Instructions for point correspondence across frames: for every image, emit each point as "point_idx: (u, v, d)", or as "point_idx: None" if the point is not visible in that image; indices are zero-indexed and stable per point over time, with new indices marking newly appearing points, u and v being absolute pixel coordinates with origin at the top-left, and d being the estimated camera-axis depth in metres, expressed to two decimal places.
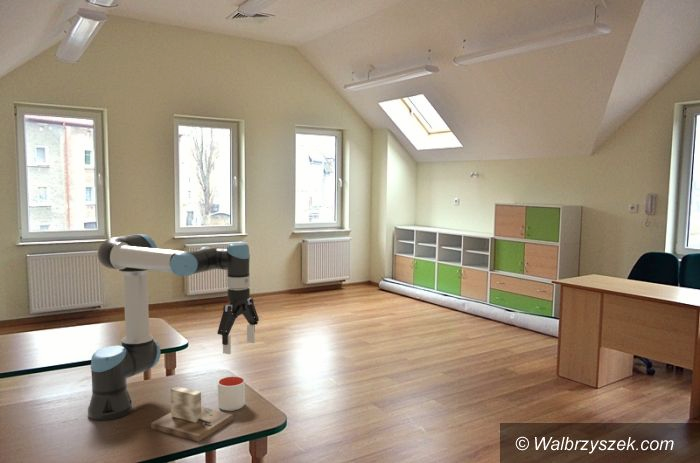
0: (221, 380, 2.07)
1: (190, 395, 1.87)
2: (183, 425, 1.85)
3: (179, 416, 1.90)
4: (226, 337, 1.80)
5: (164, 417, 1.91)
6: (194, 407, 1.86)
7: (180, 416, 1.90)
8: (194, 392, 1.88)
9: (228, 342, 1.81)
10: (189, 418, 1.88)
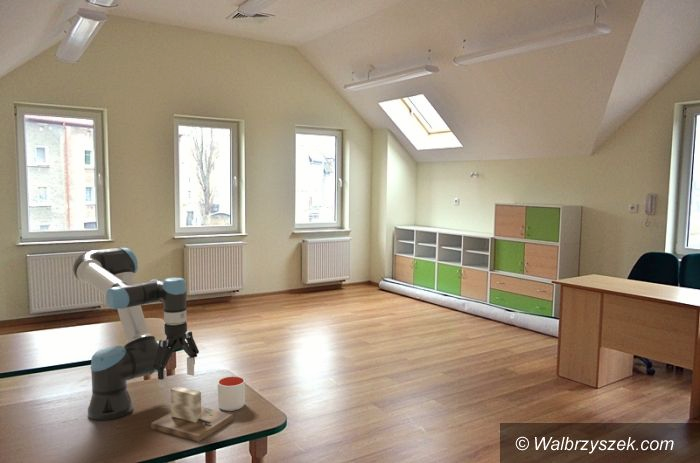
0: (221, 380, 2.07)
1: (190, 395, 1.87)
2: (183, 425, 1.85)
3: (179, 416, 1.90)
4: (161, 372, 1.83)
5: (164, 417, 1.91)
6: (194, 407, 1.86)
7: (180, 416, 1.90)
8: (194, 392, 1.88)
9: (164, 376, 1.83)
10: (189, 418, 1.88)
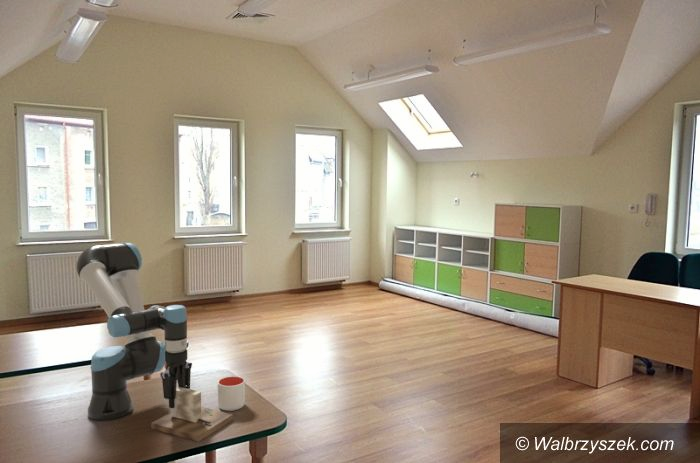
0: (221, 380, 2.07)
1: (190, 395, 1.87)
2: (183, 425, 1.85)
3: (179, 416, 1.90)
4: (172, 401, 1.89)
5: (164, 417, 1.91)
6: (194, 407, 1.86)
7: (180, 416, 1.90)
8: (194, 392, 1.88)
9: (175, 405, 1.89)
10: (189, 418, 1.88)
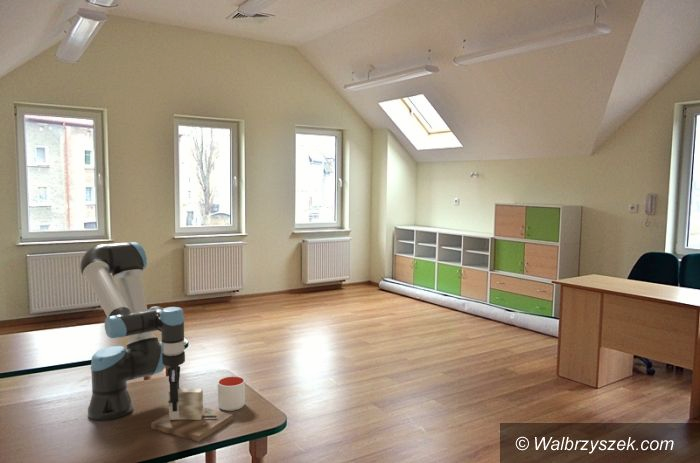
0: (221, 380, 2.07)
1: (194, 393, 1.88)
2: (183, 425, 1.85)
3: (180, 417, 1.89)
4: (176, 403, 1.87)
5: (164, 417, 1.91)
6: (199, 405, 1.89)
7: (181, 417, 1.89)
8: (196, 390, 1.90)
9: (177, 408, 1.88)
10: (193, 417, 1.89)
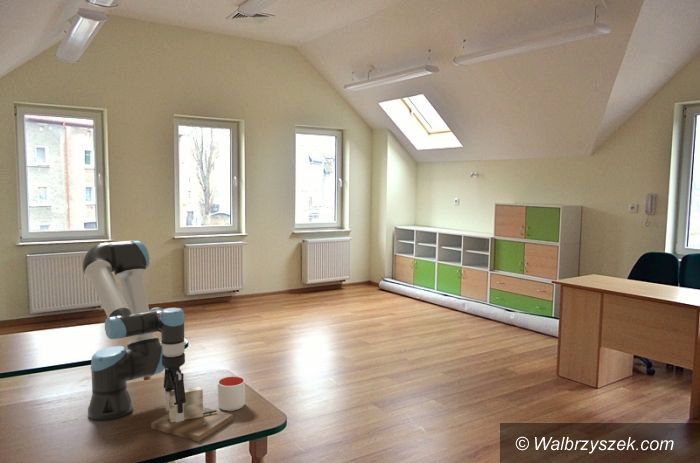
0: (221, 380, 2.07)
1: (196, 391, 1.90)
2: (183, 425, 1.85)
3: None
4: None
5: (164, 417, 1.91)
6: (201, 402, 1.91)
7: None
8: (197, 388, 1.91)
9: None
10: (195, 415, 1.90)
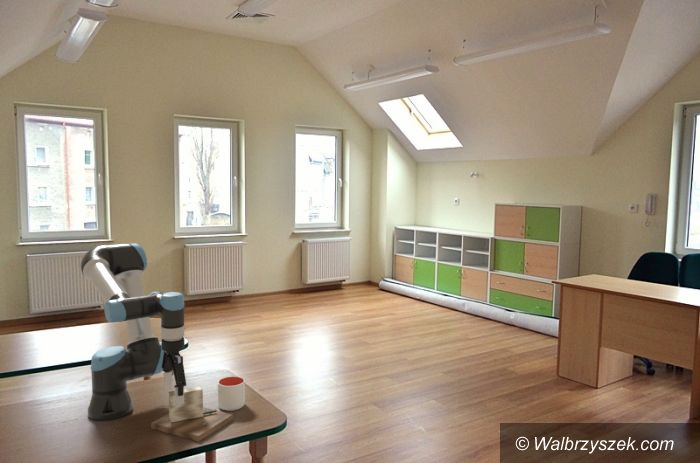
0: (221, 380, 2.07)
1: (196, 391, 1.90)
2: (183, 425, 1.85)
3: (181, 418, 1.88)
4: None
5: (164, 417, 1.91)
6: (201, 402, 1.91)
7: (183, 417, 1.89)
8: (197, 388, 1.91)
9: (183, 392, 1.82)
10: (195, 415, 1.90)
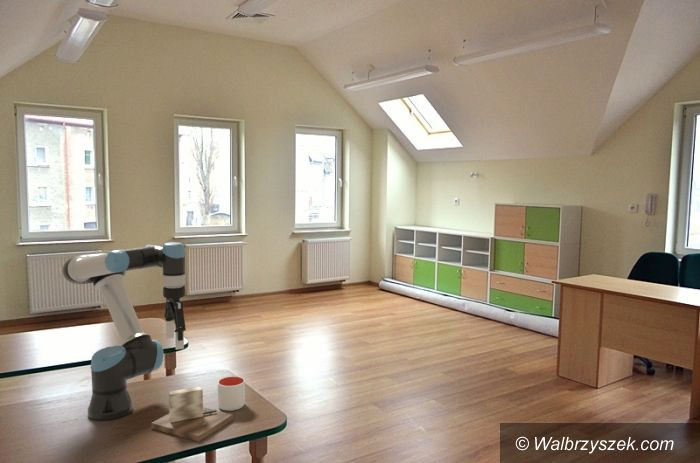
0: (221, 380, 2.07)
1: (196, 391, 1.90)
2: (183, 425, 1.85)
3: (181, 418, 1.88)
4: None
5: (164, 417, 1.91)
6: (201, 402, 1.91)
7: (183, 417, 1.89)
8: (197, 388, 1.91)
9: None
10: (195, 415, 1.90)
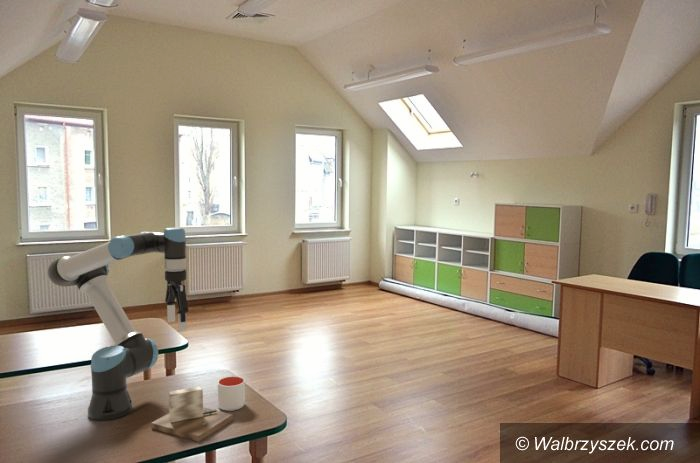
0: (221, 380, 2.07)
1: (196, 391, 1.90)
2: (183, 425, 1.85)
3: (181, 418, 1.88)
4: None
5: (164, 417, 1.91)
6: (201, 402, 1.91)
7: (183, 417, 1.89)
8: (197, 388, 1.91)
9: None
10: (195, 415, 1.90)
